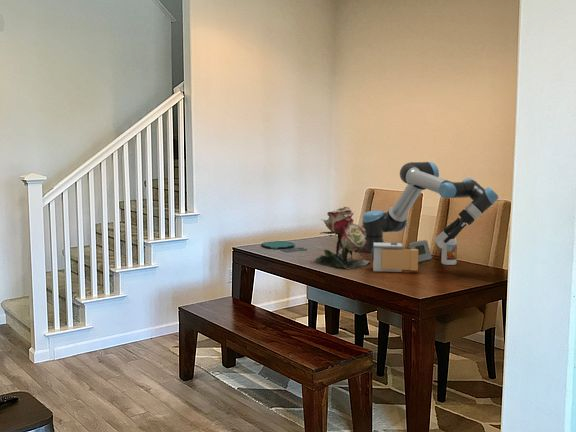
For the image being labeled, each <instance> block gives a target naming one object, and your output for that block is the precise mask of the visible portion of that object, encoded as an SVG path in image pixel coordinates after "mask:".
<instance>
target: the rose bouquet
mask: <svg viewBox="0 0 576 432" xmlns="http://www.w3.org/2000/svg"><path fill="white" fill-rule="evenodd" d="M352 211H353V210H351V208H350V207H349V206H344V207H340V208H338V209H336V210H333V211H328V212H327V216H328V219H320V221H323V223H324V224H325V226H326V228H327V229H328V230H329V231H323V232H322V231H321V232H319V234H320V235H321V234H325V235H326V234H327V235H328V236H329V237H333V235H335V236H337V242H336V244H335V245H336V247H335V252H336V253H333V252H331V250H329V249H326V248H325V249H323V254H322V255H320V256H318V257H316V258H315V260H314V261H313V262H314V264H315V265H316V264H318V265H321V266H328V267H335V268H340V269H347V270H349V269H356V267H365V266H367V265H368V264H369V263H371V260H366V259H363V260H359V259H358V260H357V259H356V260H355V259H354V258H353V251H354V253H355V254H356V253H358V254H359V256H361V257H364V255H363V254H366V253H368V252H367V249H366V247H365V248H364V245H365V244H367V242H366V241H367V240H366V239H365V238H366V232H365V231H366V230H365V229H364V228H363V225H359V224H357V223H354V219H353V218H352V216H353V215H354V214H355V213H354V212H352ZM341 249H342V250H341ZM340 250H341V253H340V252H339V251H340ZM348 254H350V257H349V258H348Z"/></svg>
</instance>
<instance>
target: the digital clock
mask: <svg viewBox="0 0 576 432" xmlns="http://www.w3.org/2000/svg"><path fill="white" fill-rule="evenodd" d="M408 249H409V250H411V249H418V264H419V263H422V261H423V262H426V260H427V261H429V260H432V257H433V256H432V253H431V250H430V246H429V243H428V240H426V239H425V240H416V241H413V242H409V243H408Z"/></svg>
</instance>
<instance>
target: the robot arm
mask: <svg viewBox="0 0 576 432" xmlns="http://www.w3.org/2000/svg"><path fill="white" fill-rule="evenodd" d="M439 172H440V171H439V167H438V166H437V164H436V163H435V162H432V161H430V162H429V161H418V162H416V161H415V162H414V161H413V162H406V163H404V164H403V165H402V167H400V170H399V177H400V180H401V181H402V182H403V183H405V184H407V185H406V187H405V188H404V190H403V191H402V193H401V194H400V195H399V198H398V199H397V200H396V202H395V203H394V205H393V206H391V207H389V208H388V211H386V212H384V211H383V210H370V211H366V212H364V214H363V219H362V226H363V228H364V229H365V230H366V231H365V232H366V238H365V239H366V240H367V241H366V242H367V244H365V245H364V248H365V247H366V249H367V252H366V253H371V251H372V249H373V246H374V243H385V242H384V238H383V237H384V235H383V233H394V232H401V231H403V230H404V229H406V227H407V225H408V215H407V214H408V213H409V211H410V209H411V208H412V207H413V205H414V204H415V202H416V201H417V199H418V198H419V196H420V195H421V194H422V191H424V190H429V191H431V192H434V193H436V194H439V195H440V197H441V198H443V199H457V198H459V199H460V198H470V199H471V200H472V201H471V202H470V203H469V204H468V205H466V206H465V207H464V208H465V209H462V210H461V211H460V212H459V213H458V216H459V217H457V218H456V219H454V221H452V222H451V223H450V224H449V225H447V227H446V226H445V227H444V228H443V230H442V231H441V232H440V233H439V234H438V235H437V236H435V238H434V239H433V241H434V242H435V243H436V245H437V246H438V247H439V249H442V247H444V246H445V245H446V244H447V243H448V242H449V241H450V240H451V239H454V238H455V237H456V238H457V236H458V235H459V233H460V232H461V231H462V230H463V229H464V228H466V226H467V225H468V226H471V224H473V223H474V222H475V220H477V219H479V218H481V217H482V215H483V213H484V212H486V210H487V211H488V209H489V208H490V207H492V205H493V206H494V203H496V202H497V201H498V200H499V194H497V192H496V191H494V190H493V189H492V188H491V187H489V186H488V187H486V188H484V187H482V186H481V185H480V184H479V183H478V182H477V181H476V180H474V179H473V178H471V177H466V178H464V179H463V180H462V181H460V182H459V181H457V182H456V181H455V182H454V181H450V180H448V179H445V178H443V177H440V173H439ZM447 235H448V236H447Z"/></svg>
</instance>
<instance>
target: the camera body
mask: <svg viewBox="0 0 576 432" xmlns="http://www.w3.org/2000/svg"><path fill="white" fill-rule="evenodd" d="M382 249H404V247H403V244H402V242H397V241H391V242H384V243H374V246H373V249H372V251H371V254H370V256H371V258H370V262H372V271H373V272H386V273H387V272H388V273H389V272H393V273H402V272H403V270H396V269H382Z"/></svg>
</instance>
